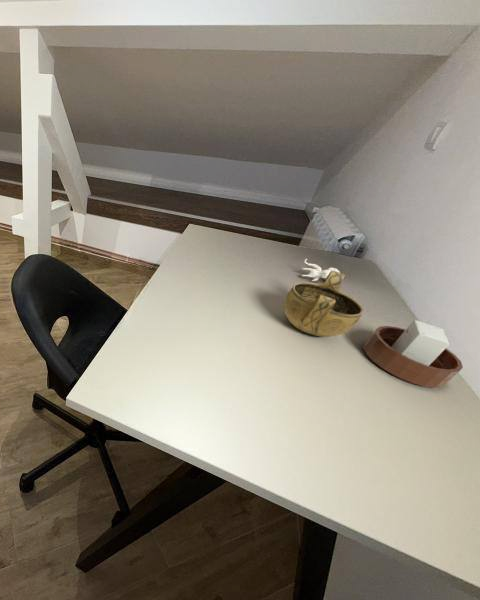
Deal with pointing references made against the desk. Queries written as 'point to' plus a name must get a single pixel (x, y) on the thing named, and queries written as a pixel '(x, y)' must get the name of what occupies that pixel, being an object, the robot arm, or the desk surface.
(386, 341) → the terracotta bowl
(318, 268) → the figurine
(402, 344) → the small box
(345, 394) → the desk surface
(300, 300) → the ceramic bowl
